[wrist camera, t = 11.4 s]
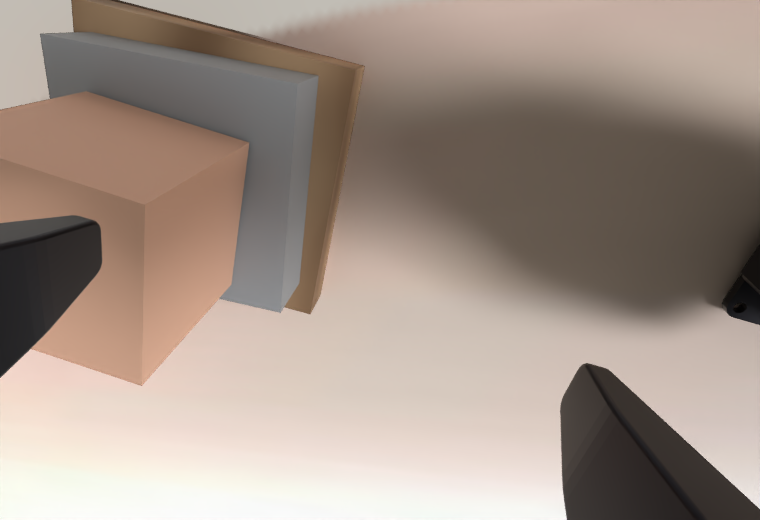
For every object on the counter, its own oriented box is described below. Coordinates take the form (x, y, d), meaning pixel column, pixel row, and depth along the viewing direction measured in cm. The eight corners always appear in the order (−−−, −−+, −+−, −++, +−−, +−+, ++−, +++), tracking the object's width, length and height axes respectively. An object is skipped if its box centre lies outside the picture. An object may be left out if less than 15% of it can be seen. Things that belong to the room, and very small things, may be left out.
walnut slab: (367, 64, 20) (355, 70, 18) (324, 287, 25) (310, 314, 23) (114, -2, 20) (71, -4, 18) (122, 231, 25) (89, 252, 23)
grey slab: (318, 75, 18) (297, 83, 16) (299, 283, 22) (280, 312, 20) (90, 31, 19) (40, 33, 16) (114, 241, 23) (75, 265, 20)
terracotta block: (249, 142, 17) (145, 205, 11) (231, 284, 20) (141, 385, 14) (86, 90, 17) (-90, 129, 12) (92, 239, 20) (-46, 323, 15)
